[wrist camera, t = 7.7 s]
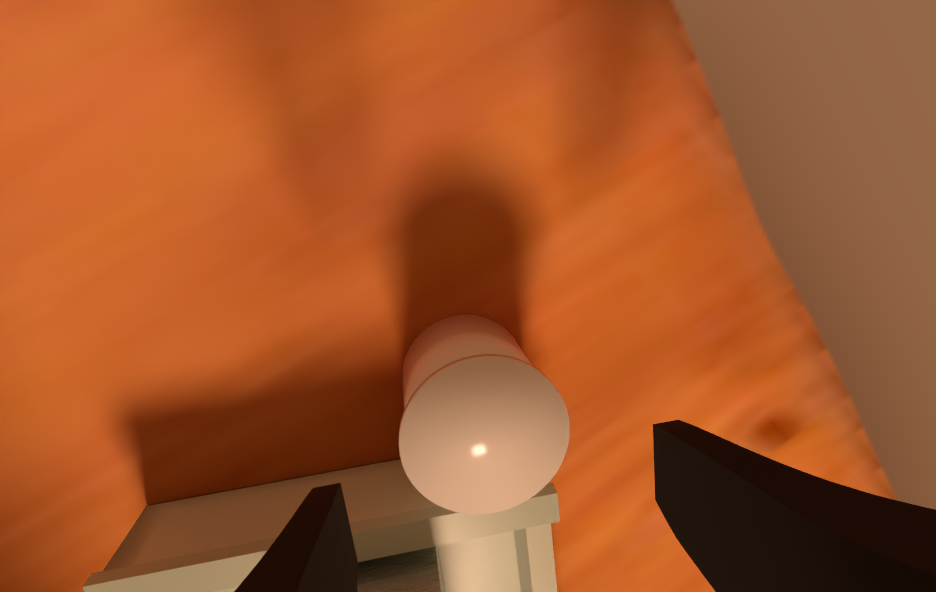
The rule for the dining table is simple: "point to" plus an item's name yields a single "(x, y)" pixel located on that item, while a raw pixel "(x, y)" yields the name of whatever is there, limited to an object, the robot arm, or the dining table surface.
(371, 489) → the tote
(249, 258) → the dining table surface
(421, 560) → the tea tin
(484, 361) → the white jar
